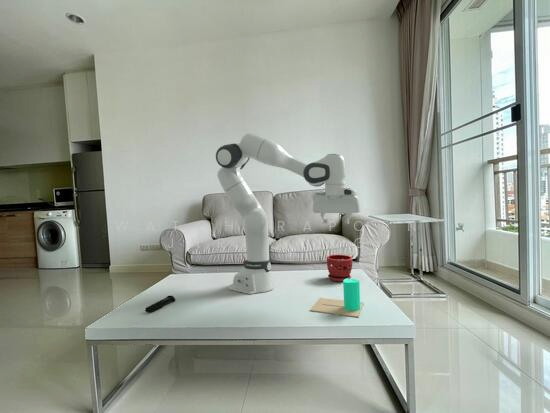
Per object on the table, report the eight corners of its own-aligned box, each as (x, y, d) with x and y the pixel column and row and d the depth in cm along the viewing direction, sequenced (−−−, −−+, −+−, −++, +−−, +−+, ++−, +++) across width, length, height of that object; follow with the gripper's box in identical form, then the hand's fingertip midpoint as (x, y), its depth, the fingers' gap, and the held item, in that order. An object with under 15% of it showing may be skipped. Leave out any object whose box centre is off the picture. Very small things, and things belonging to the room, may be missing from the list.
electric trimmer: (142, 314, 112) (142, 307, 112) (169, 300, 127) (168, 293, 126) (150, 315, 111) (149, 307, 111) (176, 301, 125) (175, 294, 125)
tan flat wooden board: (309, 311, 107) (309, 309, 107) (320, 298, 120) (319, 297, 120) (358, 317, 99) (358, 316, 99) (363, 303, 112) (363, 302, 112)
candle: (361, 311, 104) (360, 278, 104) (344, 310, 105) (343, 278, 105) (359, 305, 110) (358, 274, 109) (343, 304, 111) (342, 274, 110)
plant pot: (328, 283, 141) (327, 259, 141) (326, 276, 154) (326, 254, 154) (354, 283, 140) (353, 259, 139) (351, 275, 153) (350, 254, 152)
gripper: (310, 192, 123) (310, 223, 124) (358, 190, 115) (358, 224, 115) (314, 192, 129) (315, 222, 129) (360, 191, 120) (361, 223, 121)
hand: (336, 223), depth 122 cm, fingers open, 8 cm apart
